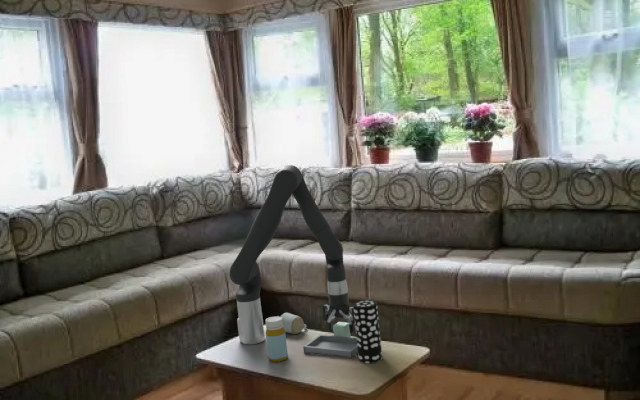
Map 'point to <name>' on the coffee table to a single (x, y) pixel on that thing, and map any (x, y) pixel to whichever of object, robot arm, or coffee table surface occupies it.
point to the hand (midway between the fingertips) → (342, 332)
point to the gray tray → (332, 346)
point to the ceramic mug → (292, 323)
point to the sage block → (341, 329)
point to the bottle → (276, 339)
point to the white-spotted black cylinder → (367, 331)
